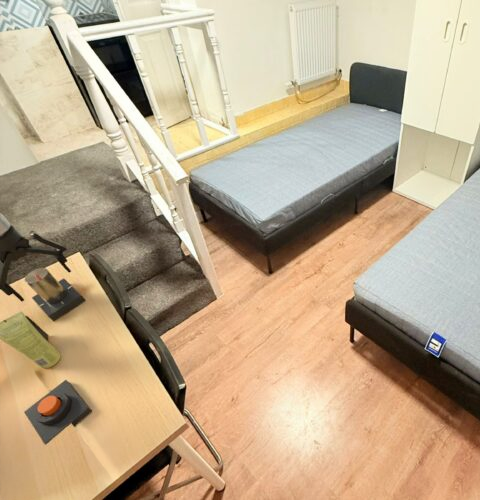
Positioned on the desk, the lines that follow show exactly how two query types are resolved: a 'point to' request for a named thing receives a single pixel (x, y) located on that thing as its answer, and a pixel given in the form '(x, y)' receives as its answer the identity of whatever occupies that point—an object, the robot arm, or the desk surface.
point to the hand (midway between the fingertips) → (45, 284)
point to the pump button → (49, 405)
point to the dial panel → (61, 302)
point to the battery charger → (38, 329)
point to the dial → (45, 285)
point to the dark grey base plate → (58, 412)
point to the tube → (28, 340)
